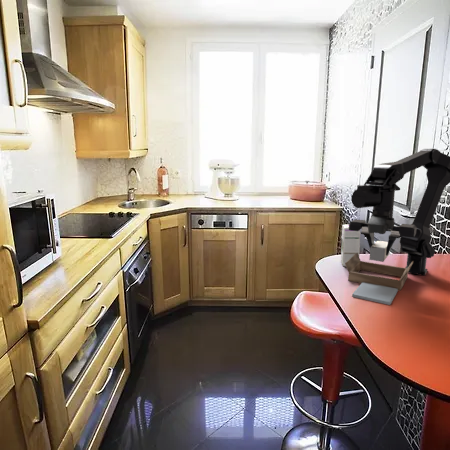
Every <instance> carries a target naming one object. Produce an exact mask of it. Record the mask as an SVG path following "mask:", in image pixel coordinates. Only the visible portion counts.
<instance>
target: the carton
mask: <svg viewBox="0 0 450 450" xmlns="http://www.w3.org/2000/svg"><path fill="white" fill-rule="evenodd" d="M413 262H414V261H412V262H411V264H410V265H409V267H408V268H405V267H402V266H395V265H389V264H388V265H387V264H381V263H377V262H369V261H363V260H361V258H360V254H359V255H358V253H356V254H355V255H354V256H352V257H351V258H350V259H349V260H348V261H347V262H346V263H345V265H346V266H345V267H346V270H347V272H348V277H347V278H348V279H347V281H349V282H353V283H359V284H361V283H362V282H365V283H370V284H375V285H381V286H386V287H391V288H396V289H398V291H401V290H402V289H403V287H404V285H405V283H406V281H407V279H408V275H409V273H408V271H409V269H410V268H411V266H412V264H413ZM360 271H365V272H372V273H377V274H384V275H388V276H395V277H398V278H400V279H395V278H390V277H389V278H388V277H383V276H378V275H372V274H367V273H361V272H360Z"/></svg>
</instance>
